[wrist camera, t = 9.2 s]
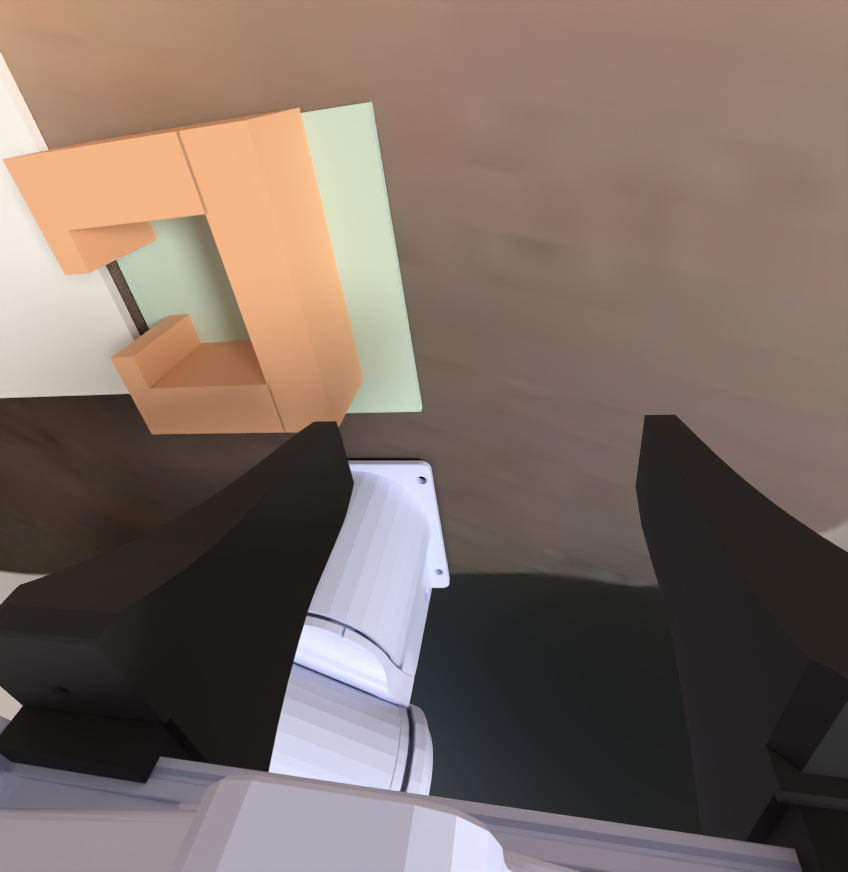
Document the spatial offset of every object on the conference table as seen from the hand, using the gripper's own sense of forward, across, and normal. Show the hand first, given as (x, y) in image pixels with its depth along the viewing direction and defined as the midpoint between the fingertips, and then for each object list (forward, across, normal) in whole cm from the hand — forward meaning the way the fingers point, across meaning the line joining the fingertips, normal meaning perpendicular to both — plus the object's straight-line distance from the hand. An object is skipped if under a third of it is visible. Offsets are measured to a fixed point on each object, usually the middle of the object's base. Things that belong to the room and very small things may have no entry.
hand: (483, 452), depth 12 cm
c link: (+10, +11, -2) cm, 14 cm away
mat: (+10, +10, -1) cm, 14 cm away
